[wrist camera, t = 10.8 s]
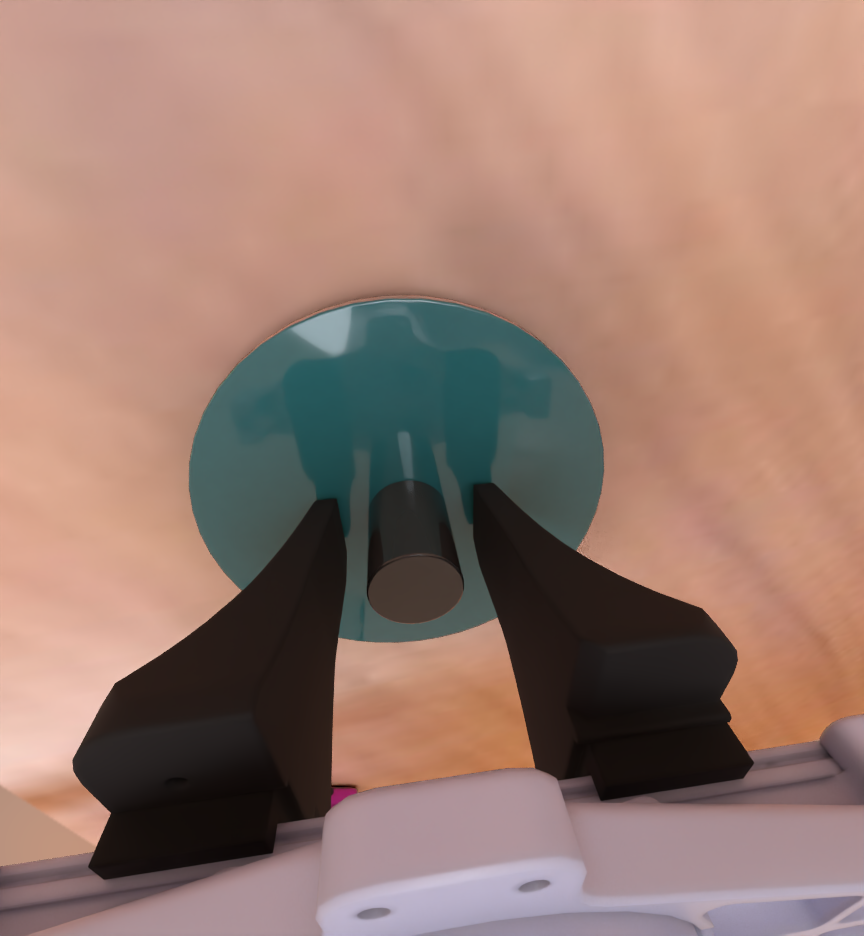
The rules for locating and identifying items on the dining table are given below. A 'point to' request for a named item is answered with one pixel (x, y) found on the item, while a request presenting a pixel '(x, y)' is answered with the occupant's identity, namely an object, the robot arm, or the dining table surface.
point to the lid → (394, 453)
